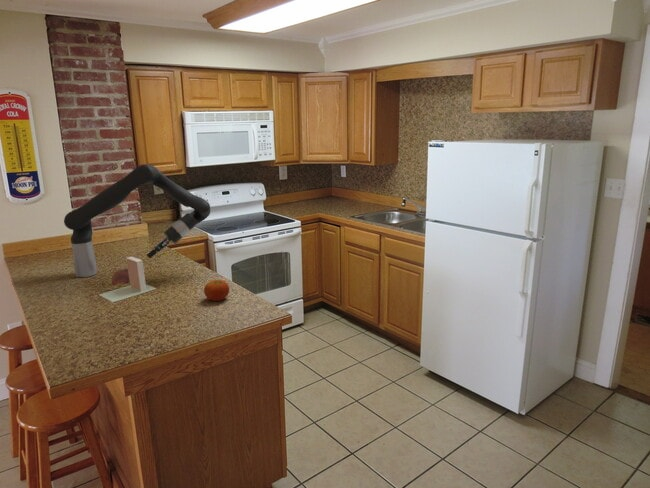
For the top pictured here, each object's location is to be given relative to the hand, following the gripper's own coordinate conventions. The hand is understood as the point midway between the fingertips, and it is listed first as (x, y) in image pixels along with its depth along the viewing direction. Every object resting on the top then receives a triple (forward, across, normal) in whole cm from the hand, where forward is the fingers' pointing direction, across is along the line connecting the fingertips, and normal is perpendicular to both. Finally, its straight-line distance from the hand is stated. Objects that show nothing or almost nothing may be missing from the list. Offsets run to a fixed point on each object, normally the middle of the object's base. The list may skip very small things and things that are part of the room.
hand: (148, 256), depth 211 cm
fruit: (-5, +28, +31) cm, 42 cm away
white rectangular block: (+13, -2, +8) cm, 15 cm away
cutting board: (+17, -1, +6) cm, 18 cm away
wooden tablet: (+13, -26, +2) cm, 29 cm away
